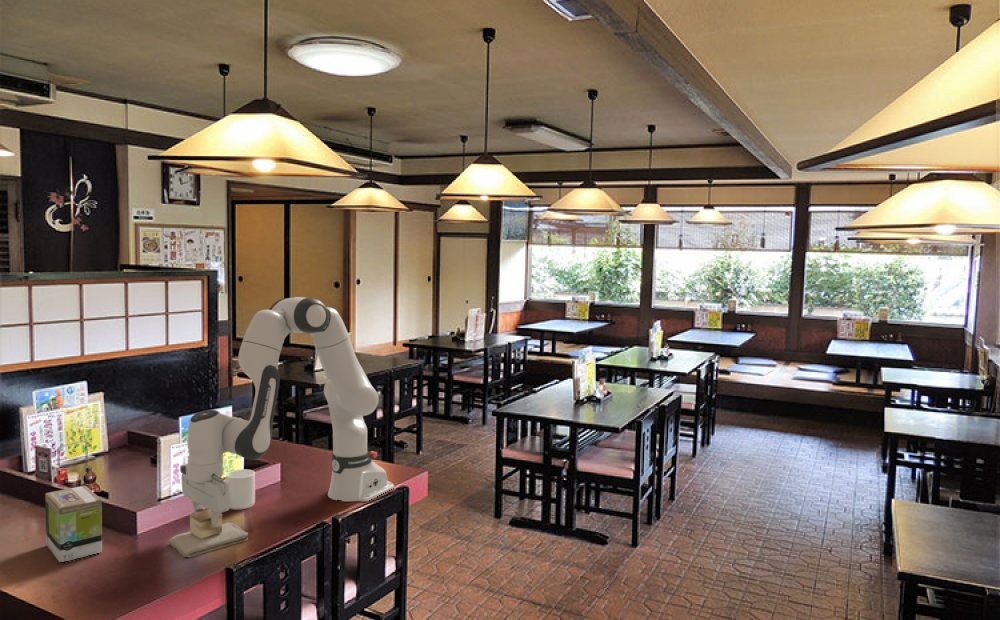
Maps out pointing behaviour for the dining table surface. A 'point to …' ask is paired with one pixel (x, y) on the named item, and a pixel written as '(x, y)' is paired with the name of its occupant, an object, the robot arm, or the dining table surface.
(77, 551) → the tea box
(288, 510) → the dining table surface
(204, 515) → the hinoki box
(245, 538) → the washcloth
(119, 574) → the dining table surface
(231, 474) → the cup
